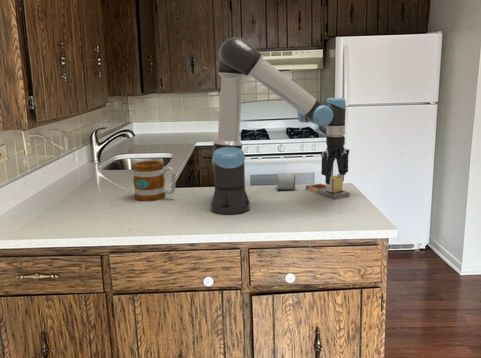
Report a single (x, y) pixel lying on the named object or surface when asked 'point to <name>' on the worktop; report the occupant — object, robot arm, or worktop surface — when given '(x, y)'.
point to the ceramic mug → (285, 181)
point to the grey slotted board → (322, 191)
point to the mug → (151, 180)
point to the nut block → (336, 184)
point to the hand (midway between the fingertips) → (334, 190)
